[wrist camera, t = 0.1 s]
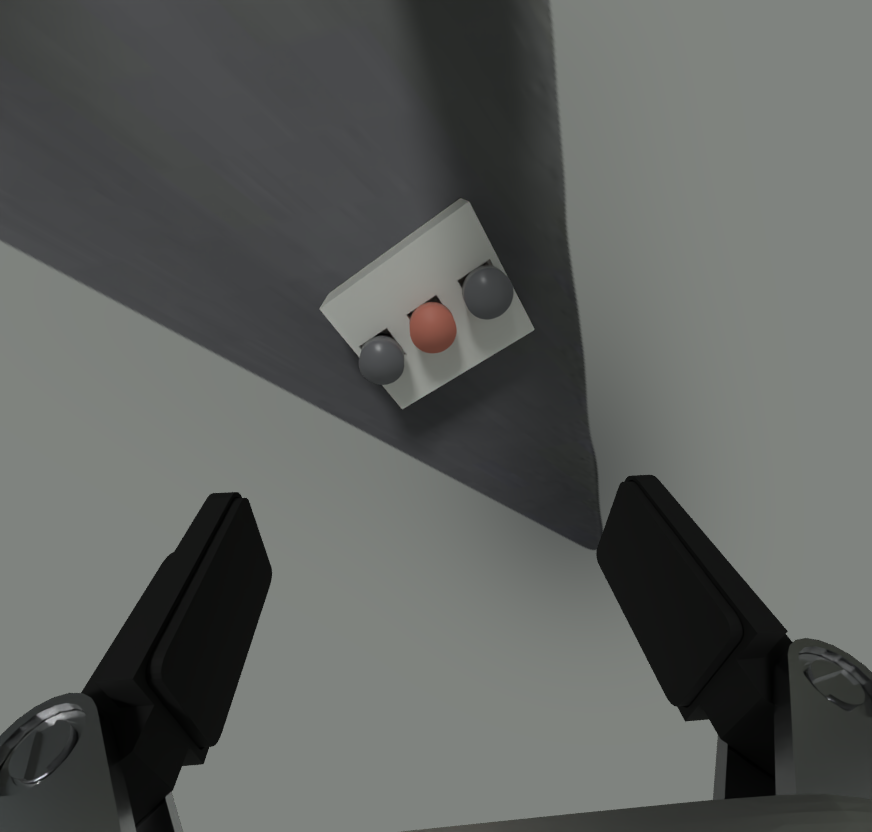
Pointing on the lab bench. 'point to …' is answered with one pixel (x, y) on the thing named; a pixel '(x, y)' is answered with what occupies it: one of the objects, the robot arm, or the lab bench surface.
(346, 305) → the control box
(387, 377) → the grey knob
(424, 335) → the red knob
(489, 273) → the grey knob
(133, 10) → the lab bench surface
